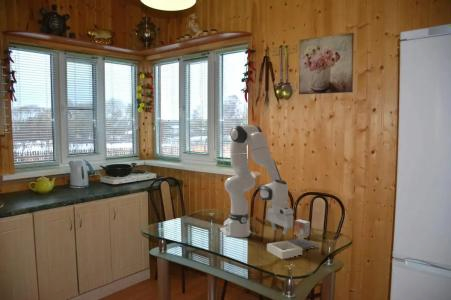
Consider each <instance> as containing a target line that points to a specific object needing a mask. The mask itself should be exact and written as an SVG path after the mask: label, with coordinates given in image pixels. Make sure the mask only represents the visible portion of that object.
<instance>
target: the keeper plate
mask: <svg viewBox="0 0 451 300" xmlns="http://www.w3.org/2000/svg"><path fill="white" fill-rule="evenodd" d="M303 238H304V234H303V233H302V232H300V233H299V235H298V237H297V238H296V239H295V238H294V239H288V240H287V241H288V242H290V243H292V244H295V245H297V246H299V247H301V248H302V251H304V250H303V249H307V248H311V247H315V246H319V245H318V244H316V243H313V242H312V241H309V240H306V239H303Z"/></svg>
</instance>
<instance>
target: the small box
mask: <svg viewBox="0 0 451 300" xmlns="http://www.w3.org/2000/svg"><path fill="white" fill-rule="evenodd" d="M310 224H311V222H310V221H307V220H303V219H302V218H301V219H300V218H299V219H295V221H294V233H293V235H296V236H295V237H297V236H298V235H299V233H300V232H302V233H303V234H304V237H307V236H309V237H310V229H311V228H310Z"/></svg>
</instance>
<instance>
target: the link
mask: <svg viewBox="0 0 451 300" xmlns="http://www.w3.org/2000/svg"><path fill="white" fill-rule="evenodd" d="M266 251H267V252H268V253H270V254H271V255H274V256H275V257H278V258H279V259H281V260H284V259H291V258H295V257H294V256H296V257H299V256H298V255H302V256H303V250H302V248H301V247H299V246H297V245H295V244H292V243H290V242H288V240H283V241H282V240H281V241H276V242H269V243H266ZM290 257H291V258H290Z"/></svg>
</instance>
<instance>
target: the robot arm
mask: <svg viewBox="0 0 451 300" xmlns="http://www.w3.org/2000/svg"><path fill="white" fill-rule="evenodd" d="M230 129H231V130H230V132H229V133H230V134H229V135H230V139H231V141H230V148H229V149H230V151H229V153H230V154H229V155H230V167H231V168H232V169H233V171H234V173H235V175H233V176H230V177H228V178H226V180H225V181H224V189H225V191H226V192H227V193H228V195H229V198H230V212H229V213H228V214H229V216H228V218H227V219H226V220H224V221H223V224H222V227H220V228H219V230H220V231H221V233H222V234H223V235H224V236H225V237H232V238H247V237H249V236H250V234H252V231H251V230H250V220H249V213H248V212H249V201H248V200H247V198H246V196H245V192H248V191H250V190H253V188H255V185H256V179H255V177H254V176H253V174H252V173H251V170H250V167H249V161H248V160H249V159H248V158H249V157H248V146H249V151H250V156H251V159H252V161H253V163H255V164H257V165H258V166H260V167H263V168H265V169H266V170H267V172H268V176H269V178H270V182H269V183H266V184H263V185H261V186H260V187H259V188H258V196H259V198H260V199H261V200H262V201H265V202H269V201H271V205H270V206H269V207H268V210H267V216H266V217H267V218H266V219H267V221H268V222H270V223H271V224H270V225H271V227H272V231H277V226H280V227H283V231H282V235H285V236H287V232H288V230H289V229H292V228H293V227H294V215H293V214H294V209H293V208H291V207H290V206H289V204H288V203H289V202H288V197H289V189H288V188H289V187H288V183H287V182H286V181H285V180H283V179H282V177H281V175H280V171H279V170H278V166H277V163H276V161H275V159H274V158H273V157H272V155H271V153H270V149H269V145H268V143H267V139H266V136H265V134H264V133H263V130H262V128H261V127H260V126H258V125H253V124H252V125H251V124H245V125H235V126H233V127H232V128H230ZM276 225H277V226H276Z"/></svg>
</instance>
